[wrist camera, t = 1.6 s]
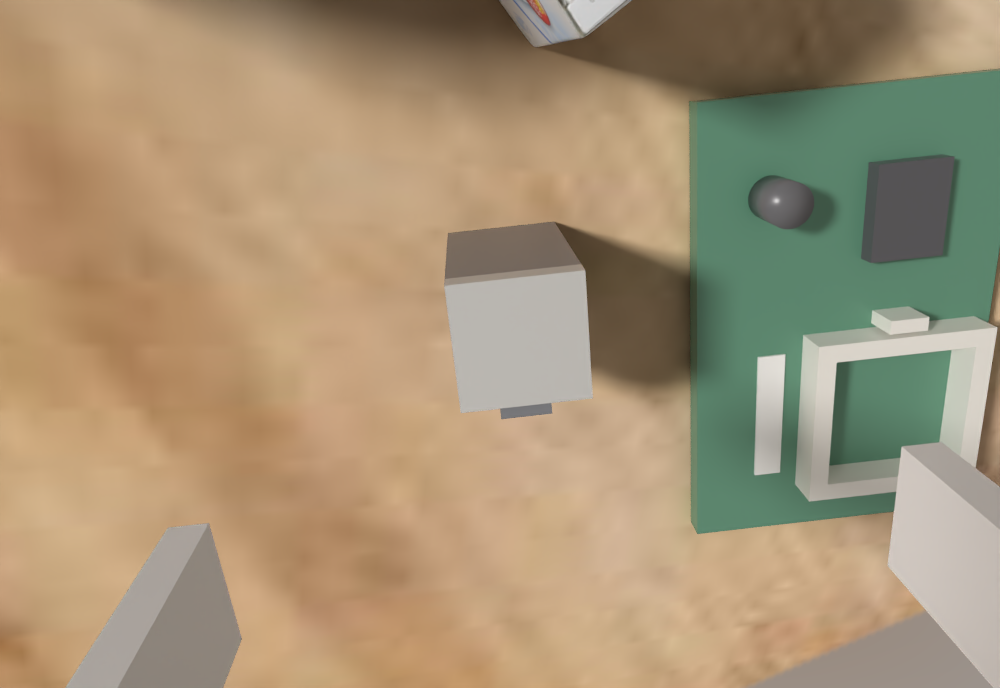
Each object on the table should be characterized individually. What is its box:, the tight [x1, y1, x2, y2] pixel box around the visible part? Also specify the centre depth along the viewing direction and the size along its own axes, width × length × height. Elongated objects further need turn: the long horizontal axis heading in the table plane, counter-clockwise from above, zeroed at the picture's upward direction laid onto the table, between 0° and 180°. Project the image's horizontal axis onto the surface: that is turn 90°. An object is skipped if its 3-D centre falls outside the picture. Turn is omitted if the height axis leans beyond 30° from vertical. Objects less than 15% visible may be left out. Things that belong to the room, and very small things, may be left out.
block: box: [444, 222, 593, 419], centre depth 28 cm, size 5×4×8 cm
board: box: [689, 69, 1000, 534], centre depth 31 cm, size 20×13×3 cm, turn 6°
